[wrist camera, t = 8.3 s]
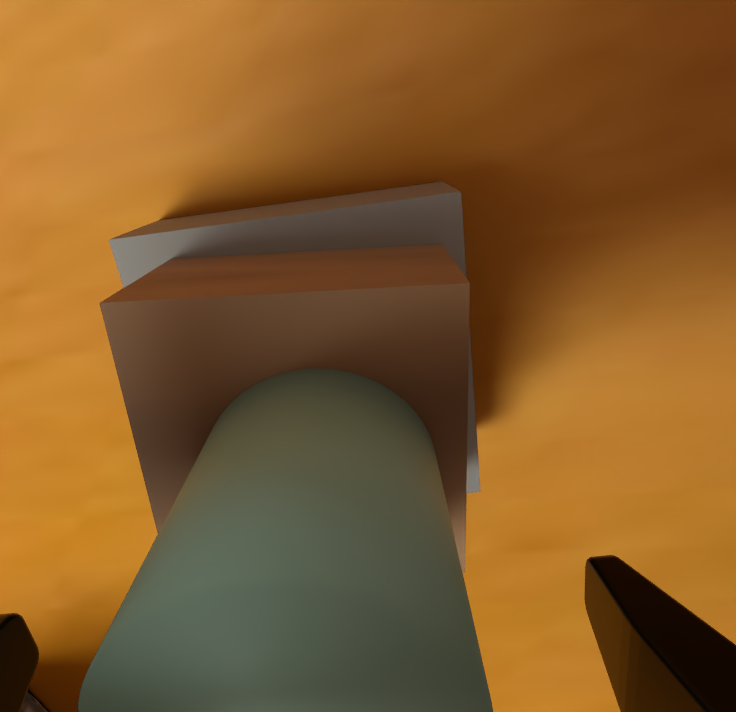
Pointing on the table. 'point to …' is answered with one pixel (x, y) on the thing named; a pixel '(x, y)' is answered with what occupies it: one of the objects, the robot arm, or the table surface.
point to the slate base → (313, 241)
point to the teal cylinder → (300, 568)
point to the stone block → (31, 705)
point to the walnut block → (290, 347)
